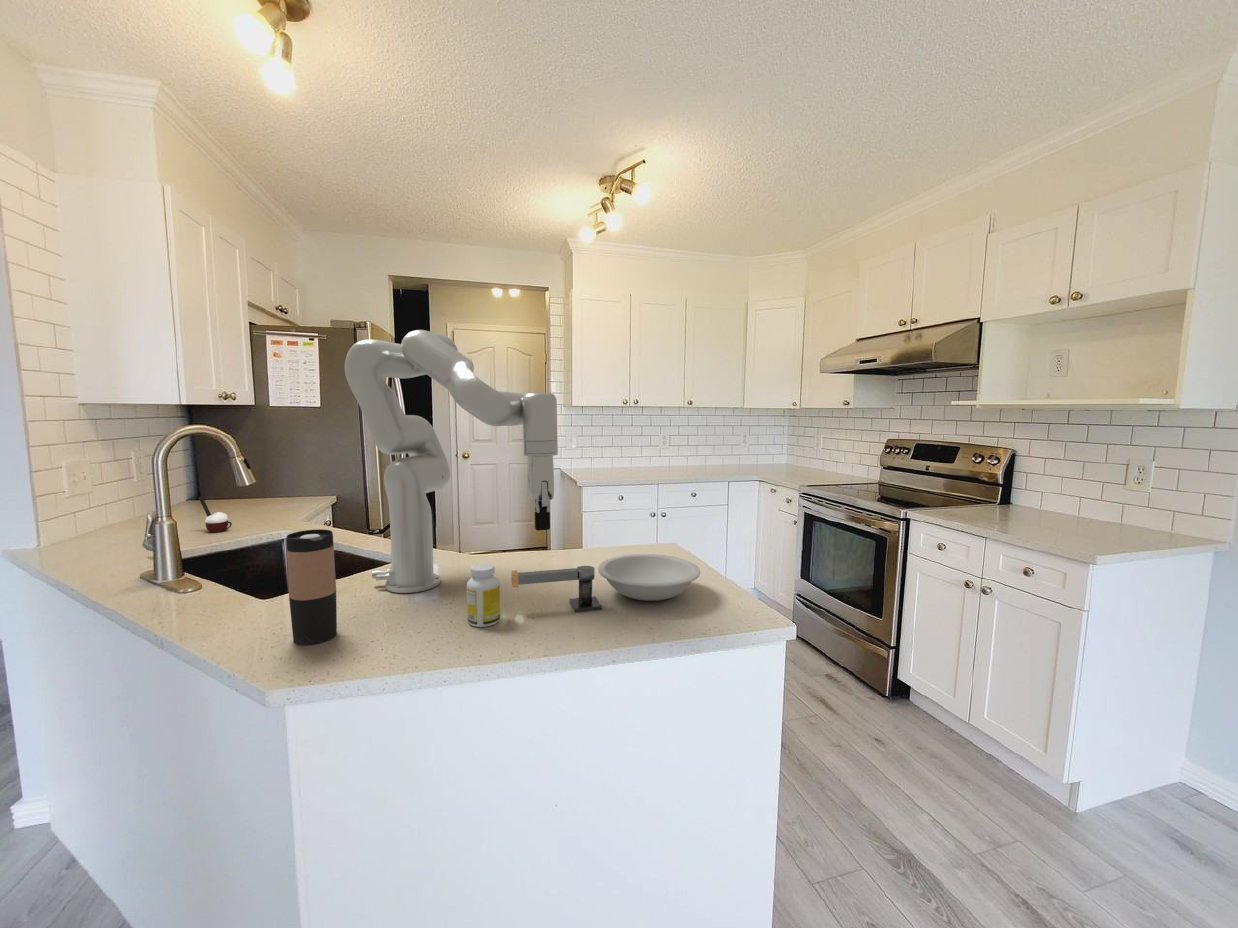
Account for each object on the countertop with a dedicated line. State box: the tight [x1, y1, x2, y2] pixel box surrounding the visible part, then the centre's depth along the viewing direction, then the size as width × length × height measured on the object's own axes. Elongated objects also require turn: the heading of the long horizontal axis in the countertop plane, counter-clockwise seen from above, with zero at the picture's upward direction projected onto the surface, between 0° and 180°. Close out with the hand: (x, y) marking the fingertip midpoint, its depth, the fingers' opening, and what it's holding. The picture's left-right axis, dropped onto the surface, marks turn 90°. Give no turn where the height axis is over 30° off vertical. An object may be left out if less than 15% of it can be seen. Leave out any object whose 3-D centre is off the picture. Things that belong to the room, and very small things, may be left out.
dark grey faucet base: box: [569, 580, 603, 613], centre depth 114 cm, size 6×6×6 cm
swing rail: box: [510, 565, 596, 589], centre depth 112 cm, size 18×4×3 cm, turn 106°
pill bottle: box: [466, 563, 501, 628], centre depth 105 cm, size 6×6×12 cm
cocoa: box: [198, 496, 233, 534], centre depth 177 cm, size 10×6×12 cm, turn 73°
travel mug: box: [285, 528, 338, 646], centre depth 97 cm, size 8×8×20 cm
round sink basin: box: [597, 553, 701, 602], centre depth 122 cm, size 24×24×7 cm
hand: (542, 529), depth 116 cm, fingers closed
